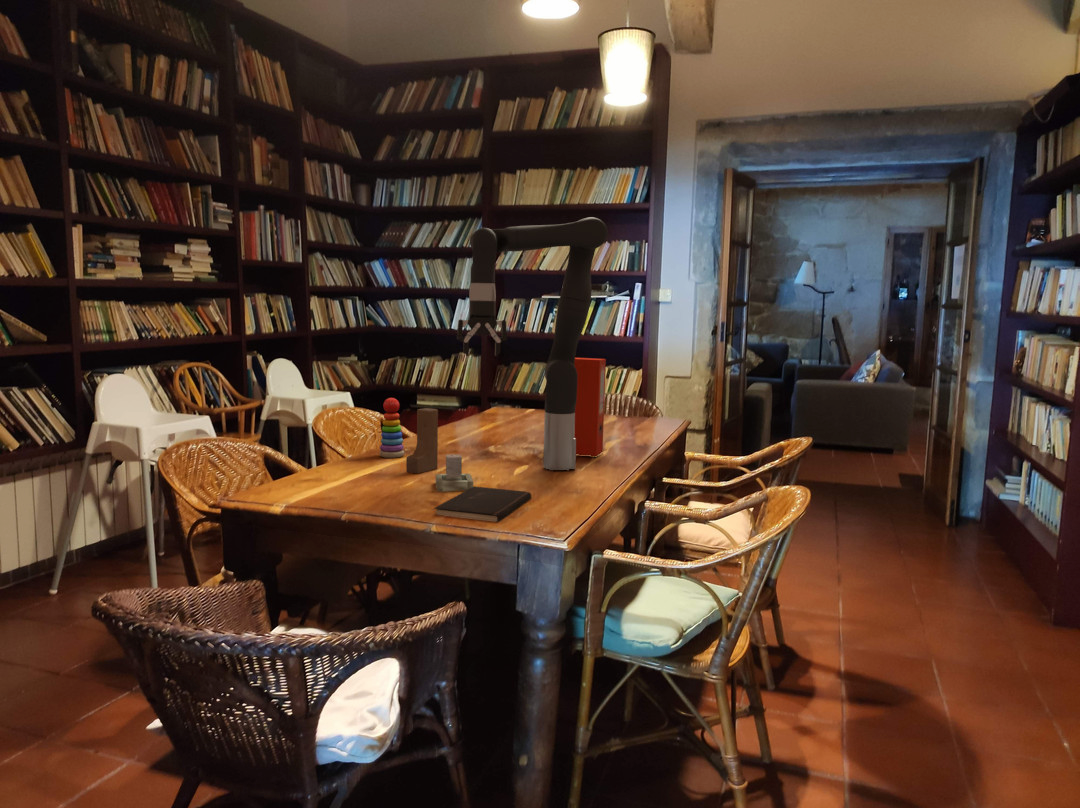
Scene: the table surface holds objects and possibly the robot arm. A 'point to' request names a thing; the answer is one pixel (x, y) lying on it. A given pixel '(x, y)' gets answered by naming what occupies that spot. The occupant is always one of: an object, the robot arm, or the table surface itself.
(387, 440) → the stacking toy
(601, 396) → the file binder
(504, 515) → the hardcover book
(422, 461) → the wooden block
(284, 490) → the table surface
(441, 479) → the grey shallow square tray
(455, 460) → the gray rectangular block
